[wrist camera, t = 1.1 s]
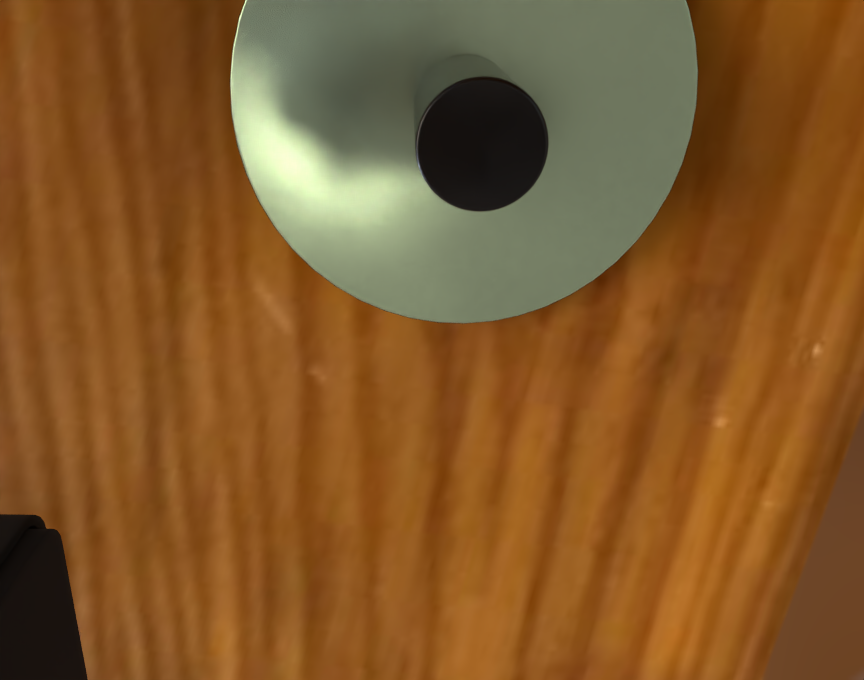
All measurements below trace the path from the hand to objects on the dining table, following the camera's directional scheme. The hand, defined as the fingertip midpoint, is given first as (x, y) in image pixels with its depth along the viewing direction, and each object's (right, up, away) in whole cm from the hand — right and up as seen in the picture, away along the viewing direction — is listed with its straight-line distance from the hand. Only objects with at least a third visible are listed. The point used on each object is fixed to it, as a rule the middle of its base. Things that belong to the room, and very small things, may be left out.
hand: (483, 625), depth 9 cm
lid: (0, +10, +15) cm, 18 cm away
